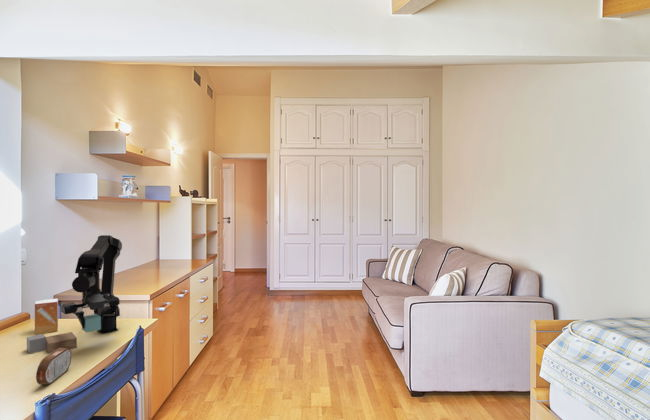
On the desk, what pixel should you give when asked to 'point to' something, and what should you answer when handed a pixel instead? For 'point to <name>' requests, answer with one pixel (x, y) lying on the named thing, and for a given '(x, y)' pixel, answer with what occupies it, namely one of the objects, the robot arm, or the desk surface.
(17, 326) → the desk surface
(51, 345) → the walnut block
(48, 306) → the small box
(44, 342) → the grey cube
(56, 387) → the desk surface
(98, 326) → the teal cube
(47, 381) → the tin
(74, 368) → the desk surface
